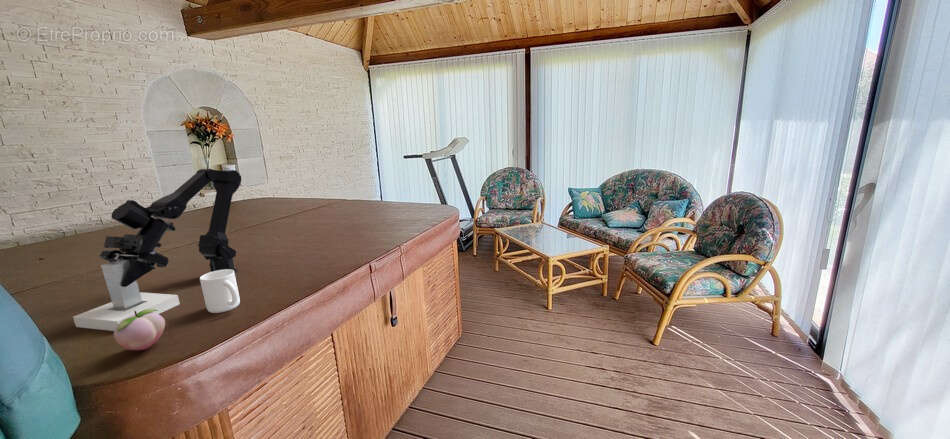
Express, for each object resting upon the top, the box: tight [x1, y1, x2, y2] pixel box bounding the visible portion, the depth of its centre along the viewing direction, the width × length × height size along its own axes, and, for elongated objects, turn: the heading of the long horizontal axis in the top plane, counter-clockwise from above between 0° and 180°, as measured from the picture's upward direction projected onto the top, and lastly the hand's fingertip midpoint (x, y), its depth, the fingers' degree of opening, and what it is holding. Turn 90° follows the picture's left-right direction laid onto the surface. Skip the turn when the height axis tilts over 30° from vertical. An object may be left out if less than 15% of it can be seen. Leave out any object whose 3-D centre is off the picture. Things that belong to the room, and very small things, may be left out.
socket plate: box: [72, 291, 180, 332], centre depth 106 cm, size 16×16×3 cm
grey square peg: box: [100, 260, 143, 310], centre depth 104 cm, size 4×4×13 cm
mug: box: [199, 269, 241, 314], centre depth 107 cm, size 12×8×10 cm
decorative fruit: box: [113, 309, 166, 351], centre depth 87 cm, size 9×8×10 cm
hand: (116, 286), depth 103 cm, fingers closed on grey square peg, 4 cm apart
